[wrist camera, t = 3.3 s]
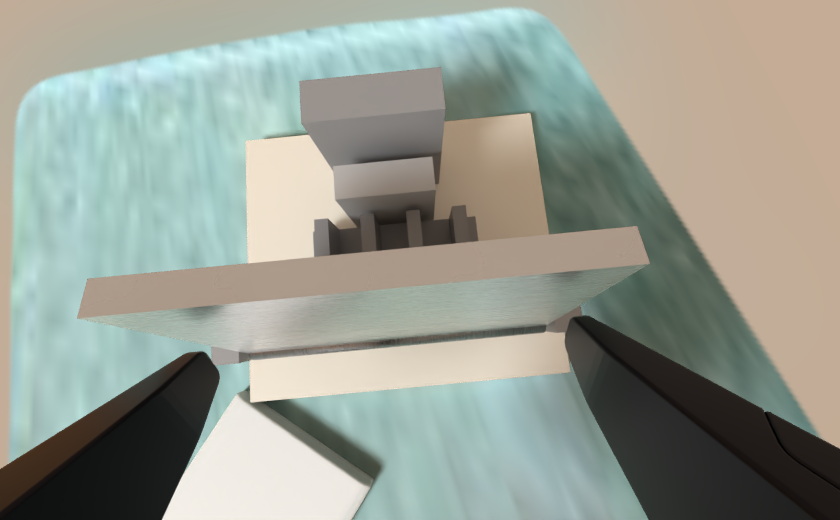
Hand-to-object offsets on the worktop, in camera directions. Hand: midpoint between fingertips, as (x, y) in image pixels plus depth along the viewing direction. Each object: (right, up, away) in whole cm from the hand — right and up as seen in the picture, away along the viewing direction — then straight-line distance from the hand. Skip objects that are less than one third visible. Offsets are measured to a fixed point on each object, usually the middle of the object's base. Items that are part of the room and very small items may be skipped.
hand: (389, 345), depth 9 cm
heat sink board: (0, +3, +11) cm, 11 cm away
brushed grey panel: (0, -1, +5) cm, 5 cm away
